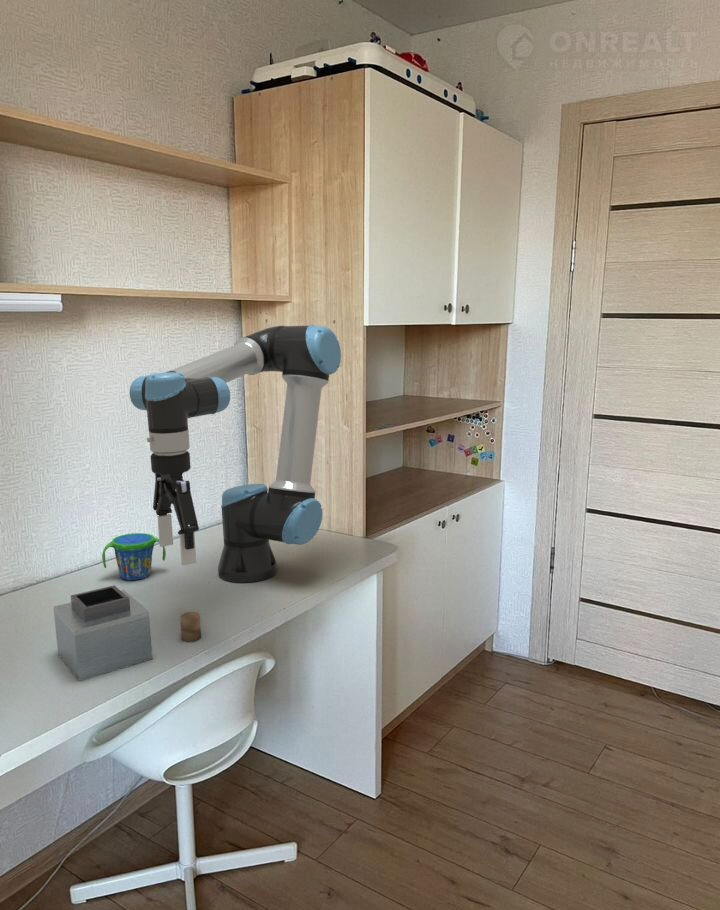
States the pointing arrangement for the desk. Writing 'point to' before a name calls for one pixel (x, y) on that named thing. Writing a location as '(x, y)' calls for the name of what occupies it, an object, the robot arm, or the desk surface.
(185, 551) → the robot arm
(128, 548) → the snack cup
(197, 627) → the pellet
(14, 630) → the desk surface
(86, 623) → the grey block with socket
